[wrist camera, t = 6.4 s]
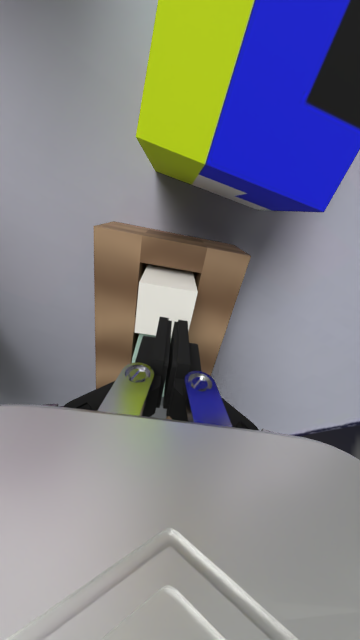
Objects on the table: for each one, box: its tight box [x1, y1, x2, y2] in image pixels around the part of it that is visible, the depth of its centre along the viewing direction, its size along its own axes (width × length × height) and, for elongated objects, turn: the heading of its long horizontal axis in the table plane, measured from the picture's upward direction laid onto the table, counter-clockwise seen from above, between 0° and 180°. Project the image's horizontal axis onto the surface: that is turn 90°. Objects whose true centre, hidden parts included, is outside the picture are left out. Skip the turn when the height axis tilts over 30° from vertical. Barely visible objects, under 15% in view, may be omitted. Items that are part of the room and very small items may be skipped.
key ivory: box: [135, 264, 198, 337], centre depth 17 cm, size 4×4×5 cm
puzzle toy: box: [136, 0, 360, 212], centre depth 12 cm, size 10×10×10 cm
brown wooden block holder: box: [94, 222, 251, 420], centre depth 23 cm, size 22×12×6 cm, turn 170°
